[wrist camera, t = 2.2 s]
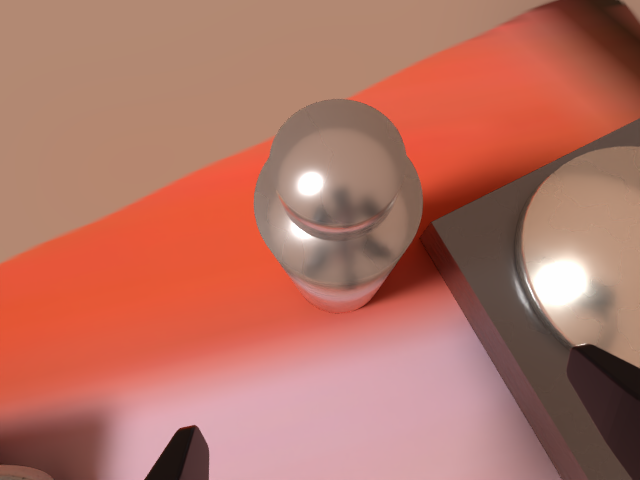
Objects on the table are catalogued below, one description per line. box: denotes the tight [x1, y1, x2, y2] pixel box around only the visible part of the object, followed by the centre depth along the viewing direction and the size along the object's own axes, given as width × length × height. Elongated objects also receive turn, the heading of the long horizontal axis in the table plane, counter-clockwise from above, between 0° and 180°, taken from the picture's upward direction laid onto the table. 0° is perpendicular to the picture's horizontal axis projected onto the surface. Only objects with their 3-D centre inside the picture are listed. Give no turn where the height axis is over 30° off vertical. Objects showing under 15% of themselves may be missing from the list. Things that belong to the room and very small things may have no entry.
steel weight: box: [254, 99, 423, 313], centre depth 16 cm, size 5×5×14 cm
